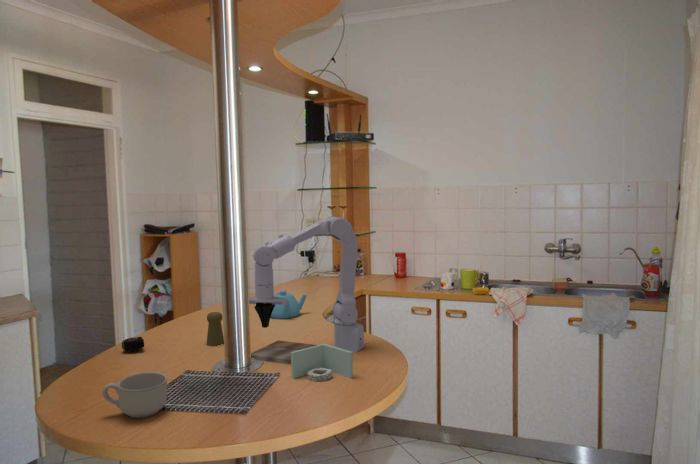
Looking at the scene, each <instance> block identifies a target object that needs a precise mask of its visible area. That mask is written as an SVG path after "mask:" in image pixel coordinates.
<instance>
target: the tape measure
mask: <svg viewBox="0 0 700 464" xmlns="http://www.w3.org/2000/svg"><path fill="white" fill-rule="evenodd" d="M144 339H145V338H143V337H142V336H136V337H135V336H134V337H129V338H125V339H123V340H122V342H121V349H122V350H123V351H125V352H129V353H130V352H132V351H136V350H140V349H143V348H144V347H145V341H144Z"/></svg>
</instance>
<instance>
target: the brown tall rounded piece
mask: <svg viewBox="0 0 700 464" xmlns="http://www.w3.org/2000/svg"><path fill="white" fill-rule="evenodd" d="M206 320H207V322H208V324H207V327H208V328H207V335H206V336H207V337H206V346H208V347H219V346H218V345H220V346H222V345H221V344H223V345H224V344H225V338H224V333H223V326H222V320H223V314H222V313H221V312H220V311H212V312H209V313H208V314H207V315H206Z"/></svg>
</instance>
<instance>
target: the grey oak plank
mask: <svg viewBox="0 0 700 464" xmlns="http://www.w3.org/2000/svg"><path fill="white" fill-rule="evenodd" d="M294 351H298V350H296V349H288V348H280V347H272V346H267V345H266V346H263V347H262V348H261V347H260V348H259V349H257V350H255V351H253V352H250V353H251V358H254V359H260V360H259V361H263V362H269V363H278V364H285V365H291V352H294ZM254 359H253V360H254Z"/></svg>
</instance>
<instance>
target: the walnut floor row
mask: <svg viewBox="0 0 700 464" xmlns="http://www.w3.org/2000/svg"><path fill="white" fill-rule="evenodd" d="M317 345H318V344H311V343H304V342H295V341H294V342H293V341H288V340H287V341H284V340H276V341H273V342H272V343H270V344H268V345H266V346H272V347H280V348H288V349H296V350H301V349H305V348H309V347H313V346H317Z"/></svg>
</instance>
